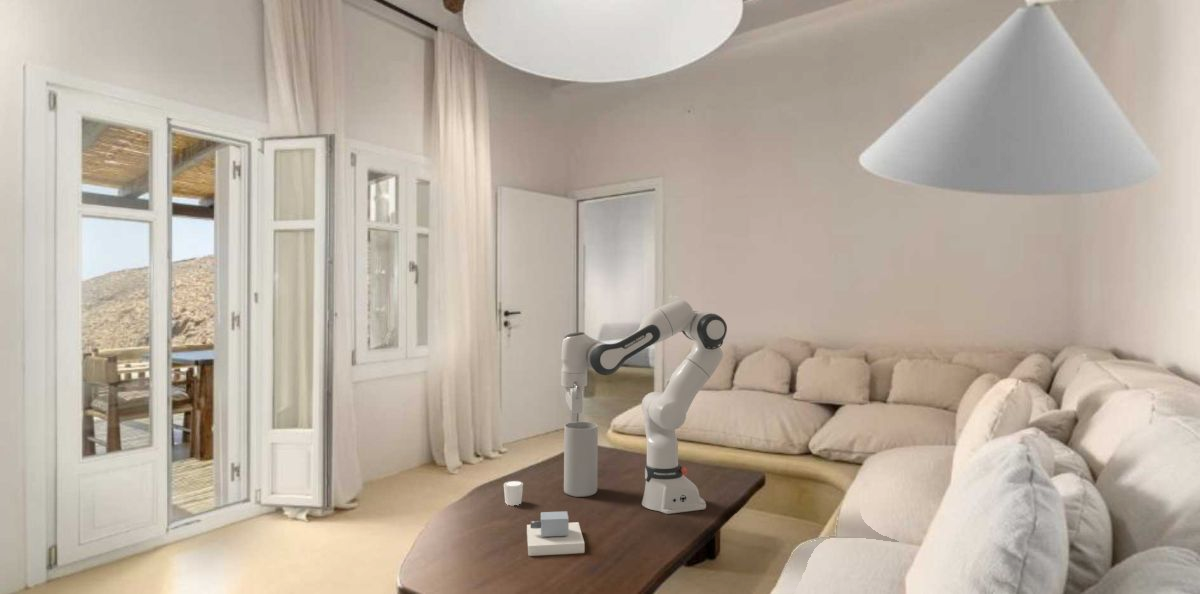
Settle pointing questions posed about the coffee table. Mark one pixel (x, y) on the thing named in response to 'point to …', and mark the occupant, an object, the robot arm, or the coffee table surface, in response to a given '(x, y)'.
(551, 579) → the coffee table surface
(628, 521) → the coffee table surface
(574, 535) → the socket plate
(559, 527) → the plug
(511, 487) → the shot glass
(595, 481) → the cylinder vase
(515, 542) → the coffee table surface
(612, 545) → the coffee table surface
